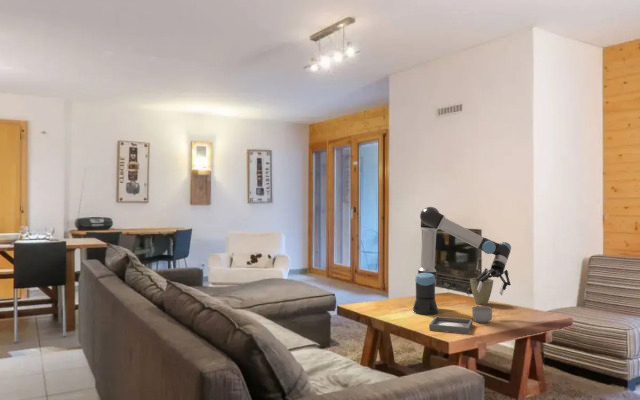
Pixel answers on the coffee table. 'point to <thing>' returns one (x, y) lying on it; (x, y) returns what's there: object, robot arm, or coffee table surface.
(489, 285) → the plant pot
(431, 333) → the coffee table surface
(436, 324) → the tray
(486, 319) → the teacup
